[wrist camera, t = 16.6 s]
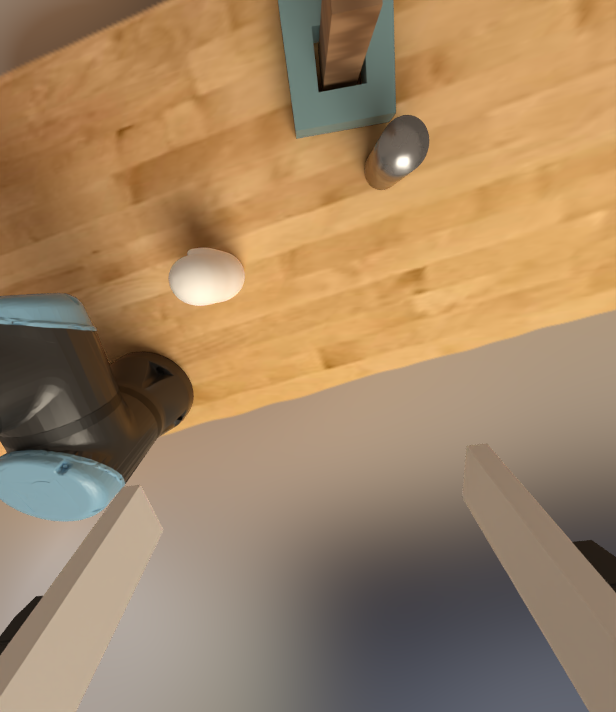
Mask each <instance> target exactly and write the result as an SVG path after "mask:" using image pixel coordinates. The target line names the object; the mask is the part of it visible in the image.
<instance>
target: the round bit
mask: <svg viewBox="0 0 616 712" xmlns="http://www.w3.org/2000/svg"><path fill="white" fill-rule="evenodd" d="M428 147H429V134H428V131H427V128H426V126H425V124H424V123H423V122H422V121H421V120H420V119H419V118H417V117H415V116H412V115H403V116H400V117H397V118H396V119H394V120H393V121H391V122H390V123H389V124H388V125H387V127H386V128H385V130H384V131H383V133H382V135H381V136H380V138H379V140H378V142H377V143H376V145H375V147H374V148H373V150H372V152H371V153H370V155H369V157H368V158H367V160H366V163H365V177H366V180H367V182H368V183H369V184H370V185H371V186H372V187H373V188H375V189H378V190H385V189H388V188H390V187H392V186H393V185H394V184H396V183H397V182H398V181H400V180H401V179H402V178H404V177H405V176H406V175H408V174H409V173H410V172H412V171H413V170H414V169H416V168H417V167H418V166H419V165H420V164H421V163H422V161H423V160H424V158H425V156H426V154H427V151H428Z"/></svg>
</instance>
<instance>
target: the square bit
mask: <svg viewBox="0 0 616 712" xmlns="http://www.w3.org/2000/svg"><path fill="white" fill-rule="evenodd" d="M382 5H383V0H322V3H321V18H320V34H319V49H318V53H319V63H320V73H321V83H322V92H323V91H329V90H334V89H339V88H345V87H350V86H355V85H356V83H357V80H358V77H359V74H360V71H361V68H362V65H363V62H364V59H365V56H366V53H367V50H368V47H369V44H370V41H371V38H372V35H373V32H374V29H375V26H376V23H377V20H378V17H379V14H380V11H381V8H382Z"/></svg>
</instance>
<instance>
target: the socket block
mask: <svg viewBox="0 0 616 712" xmlns="http://www.w3.org/2000/svg"><path fill="white" fill-rule="evenodd" d="M321 3H322V0H278V5H279V13H280V21H281V28H282V35H283V43H284V50H285V58H286V65H287V72H288V80H289V87H290V94H291V102H292V109H293V117H294V124H295V131H296V139H297V138H303V137H309V136H314V135H320V134H325V133H331V132H336V131H342V130H347V129H353V128H358V127H364V126H370V125H375V124H381V123H386V122H389V121H390V120H391V119H392V117H393V116H394V115H395V113H396V96H395V52H394V8H393V0H383V5H382V8H381V11H380V14H379V17H378V20H377V23H376V26H375V29H374V32H373V35H372V38H371V41H370V44H369V47H368V50H367V53H366V56H365V59H364V62H363V65H362V68H361V82H362V84H361V85H355V86H350V87H345V88H339V89H334V90H329V91H323V92H318V83H317V73H316V64H315V54H314V45H313V43H317V42H319V34H320V18H321Z"/></svg>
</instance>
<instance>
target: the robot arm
mask: <svg viewBox="0 0 616 712" xmlns="http://www.w3.org/2000/svg"><path fill="white" fill-rule="evenodd" d="M96 331H97V329H96V327H95V326H93V325H92V323H91V321H90V318H89V316H88V314H87V312H86V310H85V308H84V306H83V304H82V303H81V302H80V301H79V300H78V299H77V298H76V297H74V296H72V295H69V294H65V293H44V294H26V295H10V296H0V442H1V443H2V445H3V446H4V448H5V450H6V452H7V453H6V454H4V455H3V456H1V457H0V499H1V500H2V501H3V502H5V503H6V504H7V505H9V506H10V507H12V508H14V509H16V510H18V511H20V512H22V513H25V514H27V515H31V516H35V517H38V518H41V519H45V520H52V521H77V520H82V519H85V518H89V517H91V516H94V515H96V514H97V513H99V512H100V511H102V510H103V509H104V508H105V507H106V506H107V505H108V504H109V503H110V501H111V500H112V499H113V498H114V497H115V495H116V494H117V493H118V492H119V493H118V494H117V495H116V497H115V498H114V500H113V501H112V502H111V504H110V505H109V506H108V508H107V509H106V511H105V512H104V513H103V515H102V516H101V517H100V519H99V520H98V522H97V523H96V524H95V526H94V527H93V529H92V530H91V531H90V533H89V534H88V535H87V537H86V538H85V539H84V541H83V542H82V544H81V545H80V546H79V548H78V549H77V551H76V552H75V553H74V555H73V556H72V557H71V559H70V560H69V561H68V563H67V564H66V566H65V567H64V568H63V570H62V571H61V572H60V574H59V575H58V577H57V578H56V579H55V581H54V582H53V583H52V585H51V586H50V588H49V589H48V590H47V592H46V593H45V595H44V596H36V597H35V598H34V599H33V600H32V601H31V602H30V603H29V604H28V605H27V606H26V607H25V608H24V609H23V610H22V611H21V612H20V613H18V614H17V615H16V616H15V617H14V619H13V620H12V621H11V623H10V624H9V625H8V627H7V628H6V629H5V631H4V632H3V633H2V634H1V636H0V712H76V710H77V709H78V707H79V705H80V702H81V700H82V698H83V696H84V694H85V692H86V690H87V688H88V686H89V684H90V682H91V680H92V677H93V675H94V673H95V671H96V669H97V667H98V665H99V663H100V661H101V659H102V657H103V655H104V653H105V651H106V649H107V646H108V644H109V642H110V640H111V638H112V636H113V634H114V632H115V630H116V628H117V626H118V623H119V621H120V619H121V617H122V615H123V613H124V611H125V609H126V607H127V605H128V603H129V601H130V599H131V597H132V594H133V592H134V590H135V588H136V586H137V584H138V582H139V580H140V578H141V576H142V574H143V572H144V570H145V567H146V566H147V563H148V561H149V559H150V557H151V555H152V553H153V551H154V549H155V547H156V545H157V543H158V540H159V538H160V536H161V534H162V532H163V528H162V526H161V524H160V522H159V521H158V518H157V516H156V514H155V512H154V510H153V508H152V507H151V505H150V503H149V501H148V499H147V497H146V495H145V493H144V491H143V489H142V487H141V485H135V486H126V487H124V486H125V484H126V482H127V481H128V479H129V478H130V477H131V475H132V474H133V472H134V471H135V469H136V468H137V467H138V465H139V464H140V462H141V461H142V459H143V458H144V457H145V455H146V454H147V452H148V451H149V449H150V448H151V446H152V445H153V444H154V442H155V441H156V439H157V438H158V437H159V436H161V435H163V434H164V433H166V432H167V431H169V430H171V429H172V428H174V427H175V426H177V425H178V424H179V423H180V422H181V421H182V420H183V419H184V418H185V417H186V415H187V414H188V412H189V411H190V409H191V407H192V403H193V389H192V385H191V383H190V381H189V379H188V377H187V375H186V374H185V373H184V372H183V370H182V369H181V368H180V367H179V366H177V365H176V364H175V363H174V362H172V361H171V360H169V359H167V358H165V357H163V356H160V355H158V354H154V353H149V352H134V353H130V354H127V355H124V356H122V357H120V358H119V359H117V360H116V361H114V362H113V363H112V364H110V365H109V362H108V360H107V358H106V355H105V353H104V350H103V348H102V345H101V343H100V340H99V338H98V335H97V333H96ZM462 498H463V499H464V501H465V503H466V505H467V506H468V508H469V510H470V511H471V513H472V514H473V516H474V518H475V520H476V521H477V523H478V525H479V526H480V528H481V530H482V532H483V533H484V535H485V536H486V538H487V540H488V542H489V543H490V545H491V547H492V548H493V550H494V552H495V553H496V555H497V557H498V559H499V560H500V562H501V564H502V565H503V567H504V569H505V570H506V572H507V574H508V575H509V577H510V579H511V580H512V582H513V584H514V585H515V587H516V589H517V591H518V592H519V594H520V596H521V597H522V599H523V601H524V602H525V604H526V606H527V607H528V609H529V611H530V612H531V614H532V616H533V617H534V619H535V621H536V623H537V624H538V626H539V628H540V629H541V631H542V633H543V634H544V636H545V638H546V639H547V641H548V643H549V644H550V646H551V648H552V650H553V651H554V653H555V655H556V656H557V658H558V660H559V661H560V663H561V665H562V666H563V668H564V670H565V672H566V673H567V675H568V677H569V678H570V680H571V682H572V683H573V685H574V687H575V688H576V690H577V692H578V693H579V695H580V697H581V698H582V700H583V702H584V704H585V705H586V707H587V709H588V710H589V712H616V557H615V556H614V555H612V554H611V553H609V552H608V551H606V550H605V549H604V548H602V547H600V546H599V545H598V544H597V543H595V542H594V541H592V540H587V541H577V542H571V540H570V539H569V538H568V537H567V536H566V535H565V533H564V532H563V531H562V530H561V529H560V528H559V527H558V525H557V524H556V523H555V522H554V521H553V520H552V518H551V517H550V516H549V515H548V514H547V513H546V512H545V510H544V509H543V508H542V507H541V506H540V504H539V503H538V502H537V501H536V500H535V499H534V498H533V496H532V495H531V494H530V493H529V492H528V491H527V489H526V488H525V487H524V486H523V485H522V484H521V482H520V481H519V480H518V479H517V478H516V477H515V476H514V474H513V473H512V472H511V471H510V470H509V469H508V468H507V466H506V465H505V464H504V463H503V462H502V460H501V459H500V458H499V457H498V456H497V455H496V453H495V452H494V451H493V450H492V449H491V448H490V447H489V445H488V444H479V445H470V446H467V447H466V459H465V470H464V482H463V494H462Z"/></svg>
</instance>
